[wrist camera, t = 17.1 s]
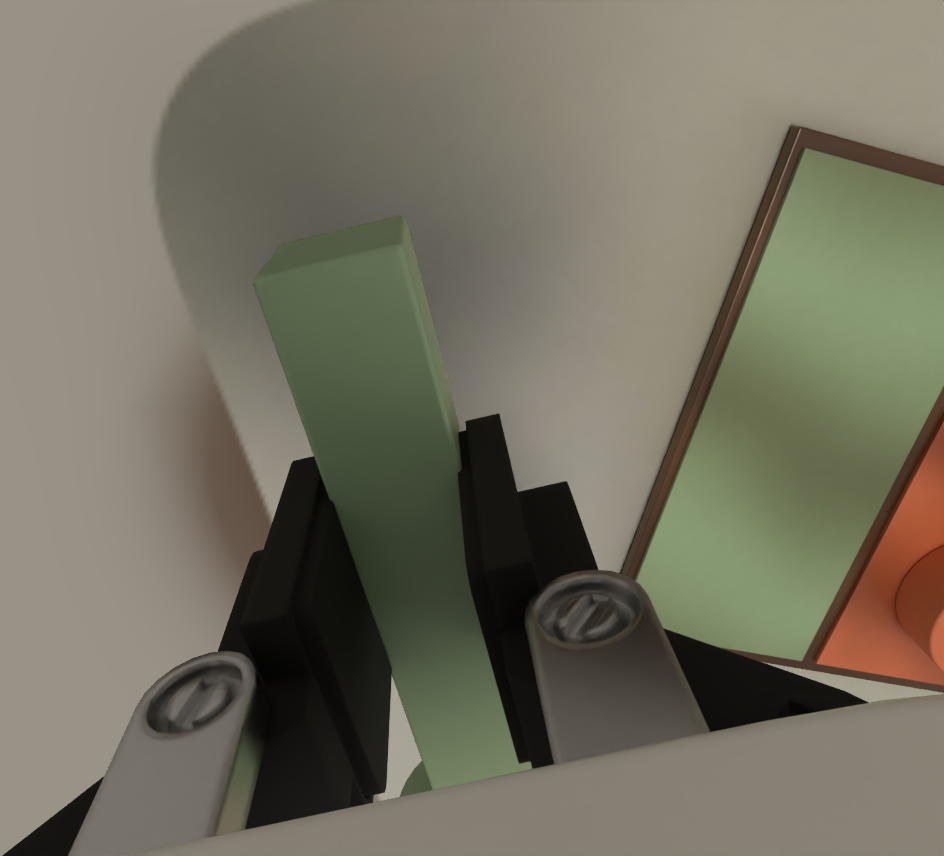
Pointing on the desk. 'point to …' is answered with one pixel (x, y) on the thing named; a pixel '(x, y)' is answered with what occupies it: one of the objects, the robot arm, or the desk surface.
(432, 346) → the spoon sage
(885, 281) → the board
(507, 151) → the desk surface
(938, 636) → the spoon terracotta
